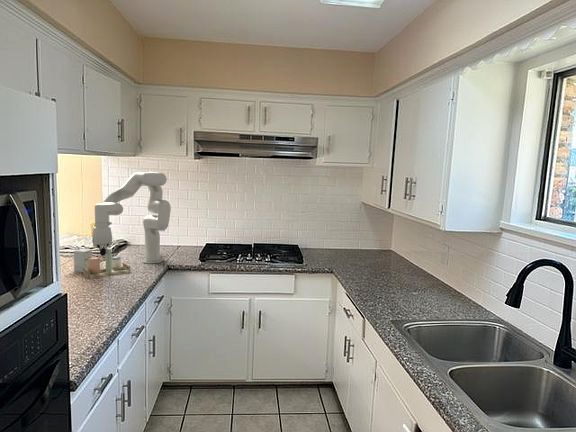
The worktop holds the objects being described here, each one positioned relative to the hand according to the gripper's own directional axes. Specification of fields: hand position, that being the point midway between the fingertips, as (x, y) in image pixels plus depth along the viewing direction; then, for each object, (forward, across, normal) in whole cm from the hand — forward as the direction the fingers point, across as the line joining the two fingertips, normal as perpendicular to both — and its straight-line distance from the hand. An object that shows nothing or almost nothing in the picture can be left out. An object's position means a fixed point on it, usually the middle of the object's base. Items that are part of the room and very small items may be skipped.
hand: (102, 255), depth 241 cm
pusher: (+11, -4, 0) cm, 12 cm away
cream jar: (+11, -10, -10) cm, 18 cm away
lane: (+11, -2, 0) cm, 11 cm away
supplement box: (+11, +8, -14) cm, 20 cm away
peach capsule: (+11, +5, 0) cm, 12 cm away
